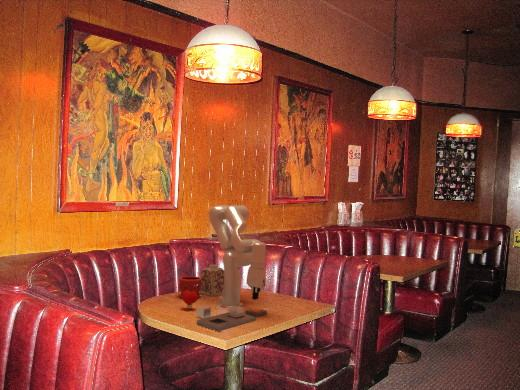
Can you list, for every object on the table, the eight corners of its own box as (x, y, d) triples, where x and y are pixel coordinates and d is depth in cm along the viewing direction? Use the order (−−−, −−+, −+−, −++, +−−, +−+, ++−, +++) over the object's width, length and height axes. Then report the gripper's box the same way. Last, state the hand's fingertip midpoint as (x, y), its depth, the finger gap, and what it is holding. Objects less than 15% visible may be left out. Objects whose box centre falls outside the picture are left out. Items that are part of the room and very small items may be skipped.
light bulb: (199, 308, 282) (200, 291, 282) (193, 311, 276) (193, 293, 276) (185, 306, 286) (186, 288, 286) (178, 309, 280) (179, 291, 279)
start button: (250, 313, 272) (250, 309, 271) (255, 312, 275) (255, 307, 275) (256, 315, 269) (256, 310, 269) (261, 314, 272) (262, 309, 272)
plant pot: (204, 298, 306) (205, 278, 305) (184, 301, 299) (185, 280, 298) (195, 293, 317) (195, 274, 316) (175, 296, 310) (176, 276, 309)
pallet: (196, 325, 252) (197, 320, 252) (233, 315, 272) (233, 310, 272) (219, 332, 241) (219, 327, 241) (255, 322, 261) (256, 317, 261)
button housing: (245, 316, 271) (245, 310, 271) (255, 313, 277) (255, 307, 277) (256, 319, 266) (256, 313, 266) (266, 316, 272) (266, 310, 272)
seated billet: (229, 319, 261) (229, 307, 261) (235, 317, 265) (236, 305, 265) (236, 321, 258) (236, 309, 258) (242, 319, 262) (243, 307, 261)
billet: (196, 318, 263) (197, 307, 263) (203, 317, 267) (204, 305, 267) (203, 321, 260) (203, 309, 260) (210, 319, 264) (210, 307, 263)
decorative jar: (212, 296, 311) (213, 267, 310) (199, 293, 319) (200, 264, 318) (226, 293, 320) (226, 265, 319) (213, 290, 328) (213, 262, 327)
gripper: (242, 263, 273) (240, 296, 274) (263, 269, 263) (261, 303, 265) (251, 261, 279) (249, 294, 280) (272, 267, 269) (270, 301, 270)
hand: (255, 298), depth 272 cm, fingers closed
